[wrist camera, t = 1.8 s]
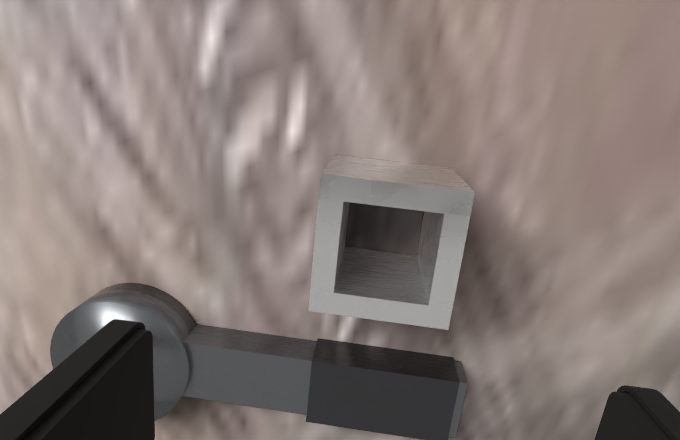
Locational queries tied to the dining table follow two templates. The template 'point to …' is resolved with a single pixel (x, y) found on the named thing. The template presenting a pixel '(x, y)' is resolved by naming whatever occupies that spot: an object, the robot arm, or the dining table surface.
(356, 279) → the socket
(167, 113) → the dining table surface
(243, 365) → the ratchet
